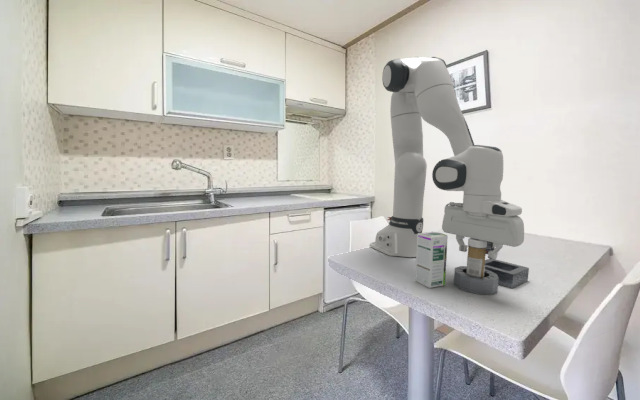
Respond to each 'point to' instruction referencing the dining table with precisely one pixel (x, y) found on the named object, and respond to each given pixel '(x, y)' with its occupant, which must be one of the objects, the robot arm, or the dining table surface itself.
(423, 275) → the syrup box
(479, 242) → the sprinkles bottle
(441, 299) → the dining table surface
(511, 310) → the dining table surface
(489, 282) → the round socket
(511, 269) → the square socket
